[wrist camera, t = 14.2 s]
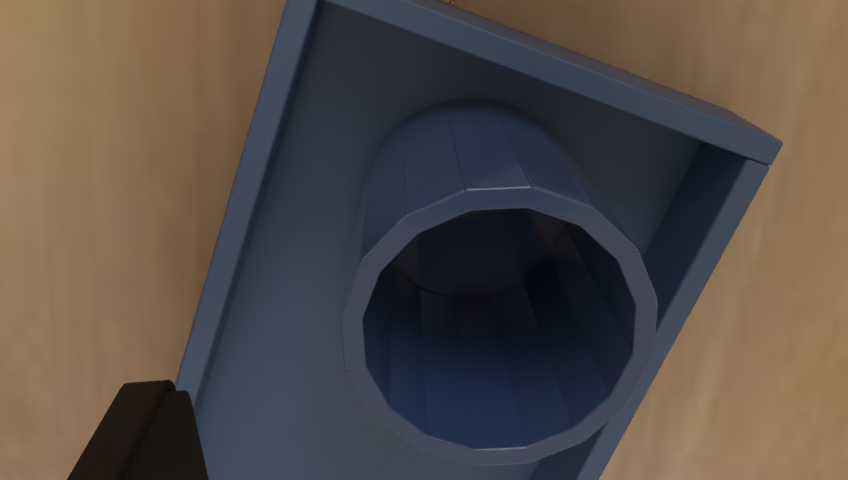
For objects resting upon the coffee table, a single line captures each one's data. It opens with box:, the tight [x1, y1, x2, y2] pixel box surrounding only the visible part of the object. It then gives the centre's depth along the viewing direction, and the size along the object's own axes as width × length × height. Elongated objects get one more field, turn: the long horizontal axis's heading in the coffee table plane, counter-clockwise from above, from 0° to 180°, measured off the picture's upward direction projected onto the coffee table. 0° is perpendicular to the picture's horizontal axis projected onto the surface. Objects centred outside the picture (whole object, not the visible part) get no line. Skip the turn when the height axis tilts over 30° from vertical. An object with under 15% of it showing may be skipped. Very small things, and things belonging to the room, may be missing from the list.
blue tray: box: [175, 0, 783, 480], centre depth 22 cm, size 22×11×3 cm, turn 160°
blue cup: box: [340, 98, 658, 466], centre depth 17 cm, size 6×6×7 cm
